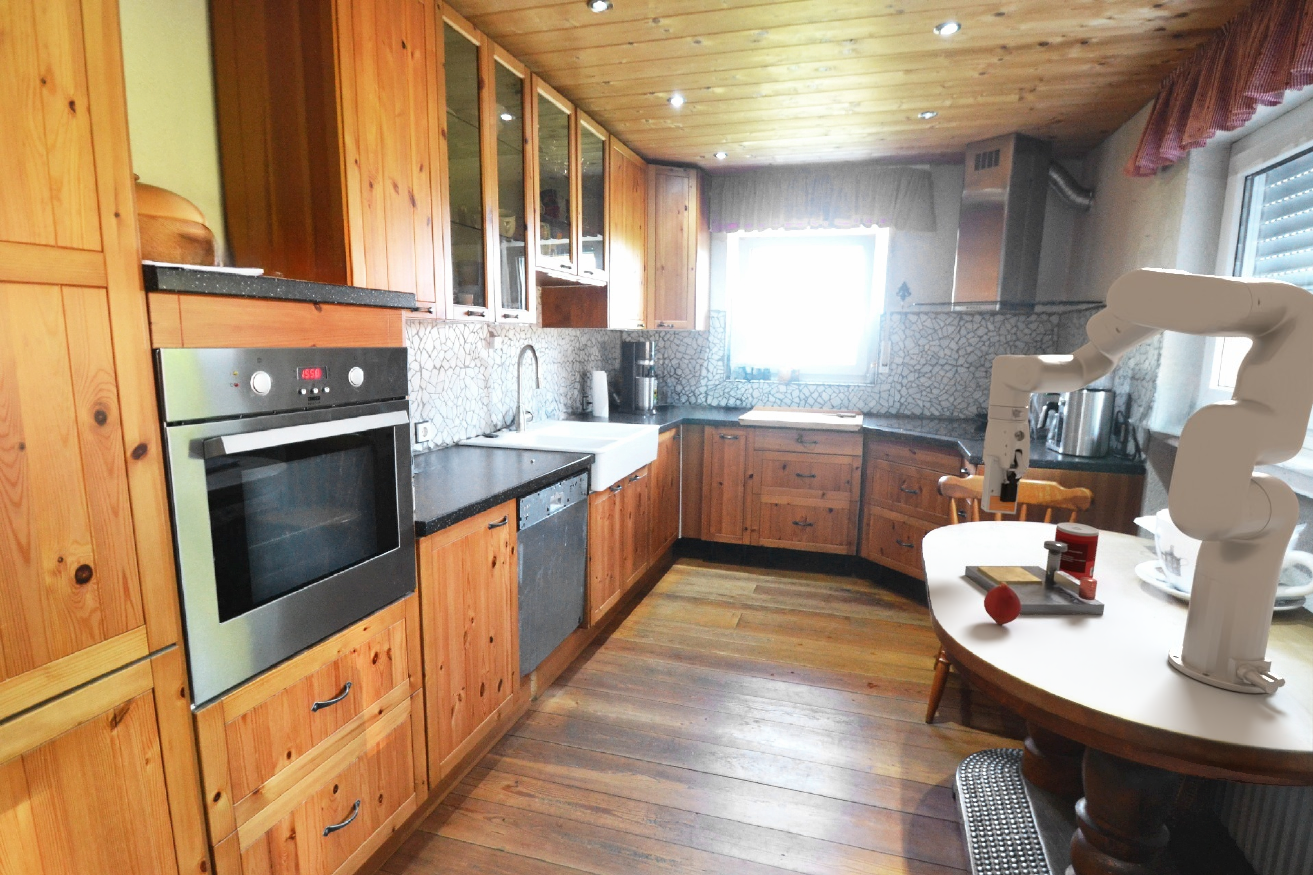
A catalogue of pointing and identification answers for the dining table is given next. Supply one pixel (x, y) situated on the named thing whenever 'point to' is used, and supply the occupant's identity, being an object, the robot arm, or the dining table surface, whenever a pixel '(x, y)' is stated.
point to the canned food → (1077, 549)
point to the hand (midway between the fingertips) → (1000, 497)
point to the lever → (1077, 585)
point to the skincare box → (995, 488)
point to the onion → (1002, 604)
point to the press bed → (1037, 586)
